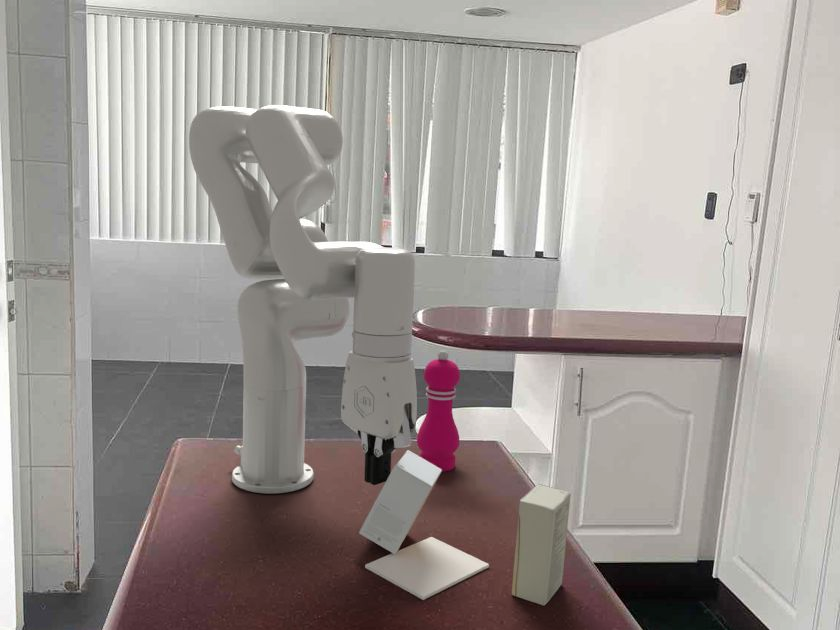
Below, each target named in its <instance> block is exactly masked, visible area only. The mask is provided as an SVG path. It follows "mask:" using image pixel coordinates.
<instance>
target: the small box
mask: <svg viewBox="0 0 840 630" xmlns="http://www.w3.org/2000/svg"><path fill="white" fill-rule="evenodd" d="M391 469H392V470H391V473H390V475H389V477H388V479H387V481H386V482H384V484H383V486H382V488H381V490H380V492H379V494H378V496H377V498H376V499H375V502H374V503H373V505H372V507H371V508H370V511H369V513H367V516H366V518H365V520H364V522H363V524H362V525H361V528H360V530H359V532H358V533H359V535H361V536H363V537H364V538H366V539H368V540H370V541H371V542H373V543H375V544H377V545H378V546H379V547H382V548H383V549H384V550H387V551H389V552H390V553H391V554H392V553H393V554H396V553H397V551H399V550H400V548H401V545H402V543H403V542H404V541H405V539H406V537H407V535H408V533H409V532H410V530H411V528H412V527H413V525H414V523H415V521H416V520H417V518H418V516H419V515H420V513H421V511H422V510H423V507H424V506H425V503H426V501H428V498H429V497H430V495H431V493H432V491H433V490H434V487H435V486H436V483H437V482H438V480H439V478H440V475H441V474H442V473H443V472H442V469H440V468H438V467H437V466H435V465H433V464H432V463H430V462H428V461H426V460H425V459H423V458H421V457H420V456H419V454H416V453H414V452H412V451H411V450H410V449H407V450H406V451H405V452H404V454H403V456H402V457H401V458H400V459H399V460H398V461H397V463H395V465H394V466H393V468H391Z"/></svg>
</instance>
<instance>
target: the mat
mask: <svg viewBox="0 0 840 630" xmlns="http://www.w3.org/2000/svg"><path fill="white" fill-rule="evenodd" d="M364 568H365V569H367V571H371V572H372V573H374V574H375V575H378V576H379V577H381V578H382V579H385V580H386V581H388V582H390V583H392V584H394V585H395V586H397V587H399V588H400V589H402V590H404V591H406V592H409V594H412V595H414V596H415V597H417V598H419V599H420V600H422V601H425V600H426V599H428V598H431V597H433V596H434V595H437V594H439V593H440V592H442V591H444V590H446V589H448V588H451V587H452V586H454V585H456V584H458V583H460V582H462V581H464V580H466V579H469V578H470V577H473V576H474V575H476V574H478V573H480V572H482V571H484V570H486V569H488V568H490V563H488V562H485V561H483V560H481V559H479V558H478V557H476V556H473V555H471V554H469V553H466V552H464V551H462V550H460V549H458V548H456V547H453V546H452V545H450V544H448V543H446V542H444V541H442V540H439V539H437V538H435V537H433V536H429V537H427V538H426V539H423V540H421V541H418V542H416V543H413V544H411V545H408V546H406V547H404V548H401V549H398V551H397V553H396V554H393V553H392V552H391V553H390V554H387V555H385V556H382V557H379V558H378V559H376V560H373V561H370V562H369V563H366V564H365V565H364Z"/></svg>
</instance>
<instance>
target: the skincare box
mask: <svg viewBox="0 0 840 630" xmlns="http://www.w3.org/2000/svg"><path fill="white" fill-rule="evenodd" d="M571 495H572V492H571V491H567V490H564V489H560V488H556V487H553V486H552V487H551V486H549V485H545V484H541V483H537V484H535V486H533V487H532V488H531V489H530V490H529V491H528V492H527V493H526V494H525V495H524V496H522V498H521V499H520V500H519V505H518V518H517V527H516V528H517V529H516V541H515V550H514V561H513V563H514V564H513V573H512V574H513V575H512V585H511V587H512V588H511V596H514V597H517V598H520V599H522V600H525V601H529V602H531V603H534V604H538V605H541V606H545V605H546V604H547V603H549V601H550V600H551V598H553V596H554V595H555V594H556V592H557V591H558V590H559V588H560V587H561V585H562V583H563V576H564V563H565V555H566V545H567V543H566V542H567V535H568V534H567V533H568V527H569V526H568V525H569V515H570V506H571V497H572V496H571Z"/></svg>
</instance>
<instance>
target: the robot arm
mask: <svg viewBox="0 0 840 630" xmlns="http://www.w3.org/2000/svg"><path fill="white" fill-rule="evenodd" d="M189 127H190V128H189V134H188V145H189V147H188V148H189V149H188V150H189V154H190V160H191V164H192V167H193V170H194V172H195V175H196V176H197V178H198V181H199V182H200V184H201V187H202V188H203V190H204V192H205V193H206V194H207V197H208V199H209V201H210V203H211V204H212V207H213V209H214V213H215V216H216V219H217V222H218V225H219V228H220V231H221V235H222V238H223V242H224V244H225V247H226V250H227V254H228V256H229V259H230V261H231V262H230V263H231V265H232V267H233V268H234V271H236V273H237V274H238V275H239V276H240V277H243V278H246V279H251V280H252V279H255V280H260V279H261V280H260V281H257V282H254V283H252V284H250V285H248V286H247V287H245V289H244V290H243V291H241V293H240V295H239V298H238V300H237V301H238V302H237V308H236V309H237V318H238V319H237V320H238V324H239V331H240V336H241V337H240V338H241V343H242V346H241V347H242V360H243V364H242V367H243V368H242V370H243V372H242V373H243V376H242V377H243V378H242V379H243V380H242V382H243V383H242V384H243V391H242V392H243V393H242V394H243V397H242V400H243V401H242V402H243V404H242V407H243V408H242V409H243V410H242V443H241V445H236V446H235V447H234V450H233V451H234V453H235V454H236V455H239V456H240V464H238V466H235V468H234V469H233V470H232V471H231V472H232V473H231V481H232V483H233V484H234V485H235V486H236V487H237V488H239V489H240V490H244V491H246V492H251V493H257V494H269V495H271V494H273V495H274V494H285V493H290V492H296V491H298V490H301V489H304V488H305V487H307V486H309V485H310V484H311V483H312V482H313V481H314V469H313V468H312V466H310V465H309V464H307V463H305V442H306V441H305V439H306V438H305V437H306V407H307V406H306V401H307V399H306V398H307V370H306V369H307V368H306V366H305V362H304V360H303V358H302V357H301V356H300V354H299V352H298V351H297V349H296V348H295V345H294V342H298V341H302V340H310V339H312V340H313V339H320V338H321V339H322V338H326V337H332V336H335V335H337V334H339V333H341V332H342V331H343V330H345V328H346V326H347V325H348V323H349V318H350V313H351V312H350V301H349V299H353V325H352V328H353V331H352V333H351V337H352V350H349V352H348V354H347V359H346V363H345V367H344V368H345V369H344V374H343V382H342V389H341V390H342V391H341V401H340V402H341V404H340V418H341V421H342V422H343V423H344V425H346V426H348V427H349V428H350V430H352V431H353V432H354V433H355V434H357V435H358V437H359V439H360V441H361V449H362V451H363V452H364V453H365V455H364V482H365V483H367V484H368V483H369V484H370V485H373V486H376V485H380V484H382V483H385V482H386V481H387V479H388V477H389V475H390V473H391V471H392V470H391V469H392V454H393V453H395V452H396V449H398V448H400V449H403V448H408V447H410V446H411V445H412V439H411V438H412V437H411V434H412V433H413V432H415V429H416V426H417V425H416V424H417V412H418V411H417V410H418V408H417V407H418V403H417V402H418V398H417V396H418V394H417V380H416V370H415V369H416V368H415V363H414V358H413V357H412V345H413V344H412V342H413V322H414V320H413V318H414V299H415V298H414V295H415V292H414V291H415V274H416V273H415V269H416V267H415V266H416V261H415V257H414V255H413V253H412V252H411V251H409V250H407V249H403V248H398V247H387V246H386V247H385V246H382V245H380V244H378V243H375V242H371V241H359V240H358V241H357V240H355V241H348V240H347V241H345V240H344V241H343V240H342V241H340V240H339V241H336V240H335V241H329V240H328V237H327V236H326V234H325V232H324V231H323V230H322V228H321V227H320V226H319V225H318V224H317V223H315V222H313V221H312V220H309V219H305V218H304V217H307V216H308V215H311V214H312V213H315V212H316V211H317V210H319V209H320V208H321V207H323V206H324V205H325V204H326V203H327V202H328V201H329V200H330V199H331V197H332V195H333V193H334V190H335V185H336V184H335V178H334V175H333V173H332V172H331V171H330V170H331V169H329V167H328V166H329V165H332V164H333V163H334V162H336V161H337V160H338V158H339V156H341V152H342V149H343V133H342V130H341V126H340V125H339V123H338V122H337V119H336V118H335V117H334V116H332V114H330V113H328V111H326V110H322V109H318V108H317V109H316V108H310V107H301V106H291V105H283V104H281V105H280V104H271V105H267V106H266V105H265V106H262V107H260V108H258V109H256V108H249V107H239V106H229V105H228V106H225V105H224V106H221V105H220V106H212V107H208V108H205V109H203V110H201V111H200V112H198V113H197V114H196V115H195V116H194V117H193V119H192V121H191V124H190V126H189ZM241 163H246V164H247V163H248V164H259V168H260V169H261V171H262V172H263V174H264V176H265V178H266V180H267V183H268V184H269V186H270V188H271V190H272V192H273V194H274V196H275V197H276V199H277V200H276V203H275V206H274V208H273V209H272V207H271V204H270V201H269V198H268V195H267V193H266V191H265V190H264V188H263V186H262V185H261V184H260V182H259V181H258V180H257V178H255V177H254V176H253V174H251V173H250V172H249V171H247V170H246V169H245V168H243V166H242V165H241ZM262 279H264V280H262Z"/></svg>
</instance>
